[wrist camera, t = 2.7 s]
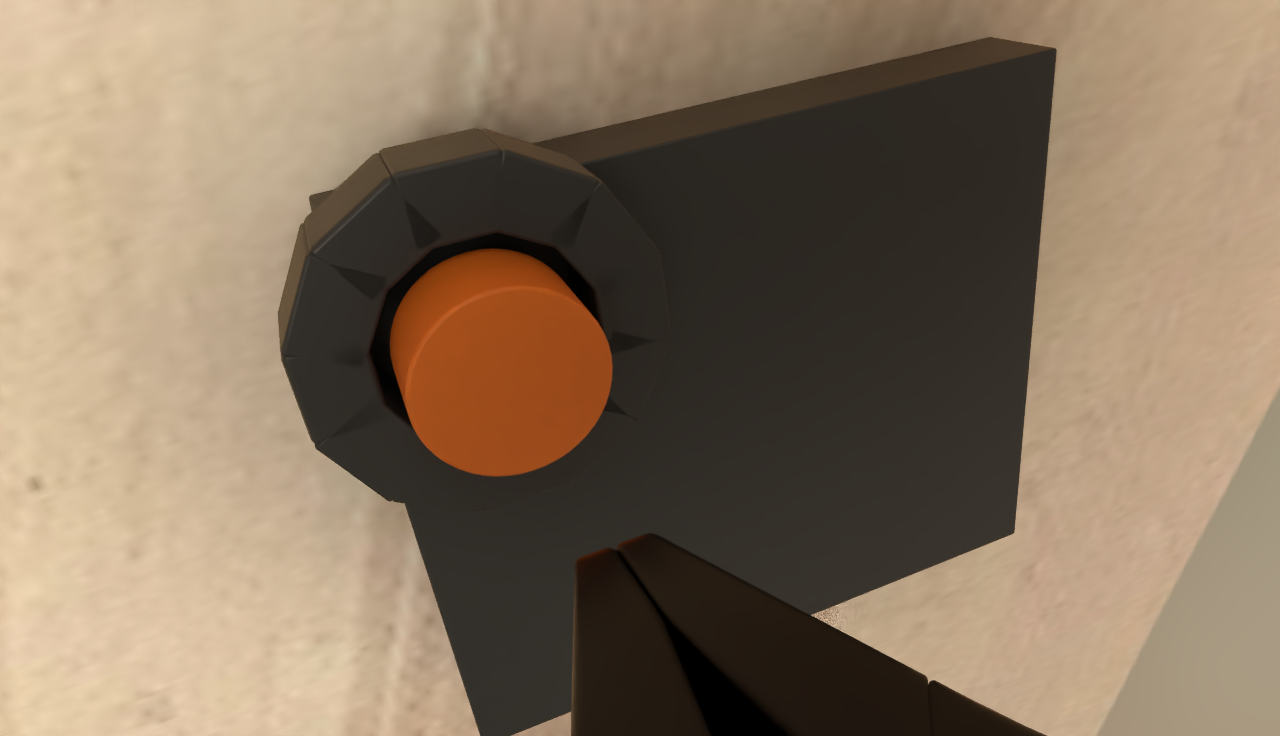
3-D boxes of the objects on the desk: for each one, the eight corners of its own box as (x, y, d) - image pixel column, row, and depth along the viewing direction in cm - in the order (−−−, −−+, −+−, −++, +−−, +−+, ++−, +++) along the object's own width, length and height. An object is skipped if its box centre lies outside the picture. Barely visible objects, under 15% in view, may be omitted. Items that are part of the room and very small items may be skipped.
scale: (426, 700, 21) (455, 827, 18) (230, 153, 15) (225, 212, 12) (966, 494, 25) (1061, 572, 22) (993, -13, 19) (1132, 2, 16)
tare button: (417, 446, 15) (435, 505, 13) (365, 276, 13) (379, 321, 12) (591, 392, 15) (626, 442, 14) (560, 225, 14) (596, 261, 13)
